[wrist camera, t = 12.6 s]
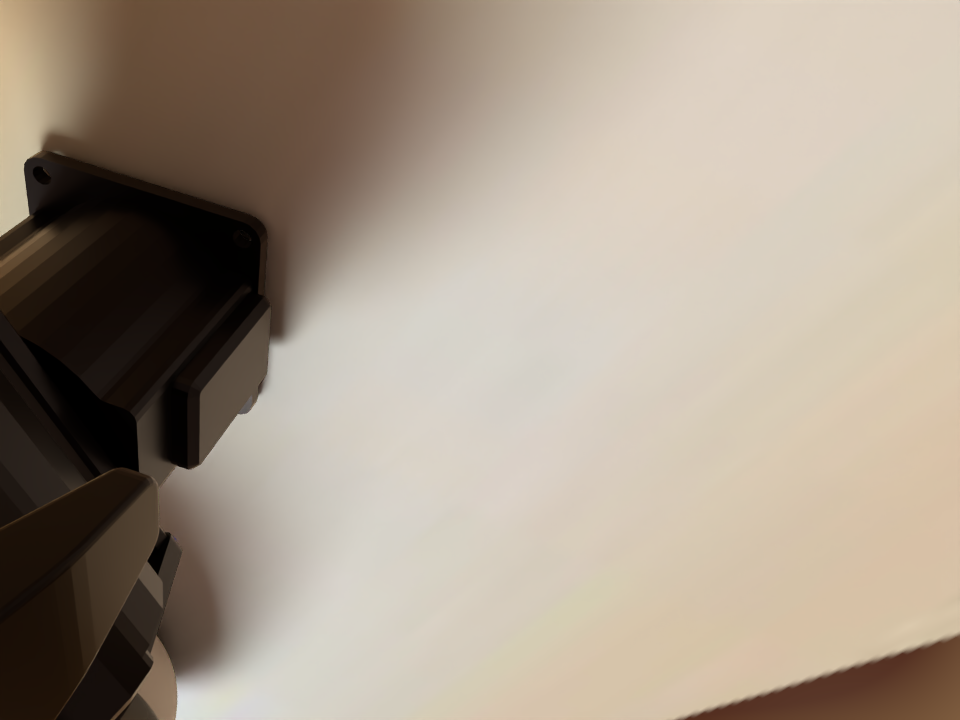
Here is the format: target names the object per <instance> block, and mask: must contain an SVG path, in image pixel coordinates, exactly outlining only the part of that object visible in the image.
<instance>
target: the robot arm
mask: <svg viewBox="0 0 960 720" xmlns="http://www.w3.org/2000/svg"><path fill="white" fill-rule="evenodd" d="M43 168H44V169H46V170H47V171H48V173H49V174H50V176H48V175H47V174H46V173H45V172H44V170H43ZM24 174H25V182H26V190H27V198H28V206H29V214H30V216H29V217H28V218H26V219H25V220H23V221H22V222H21V223H19V224H18V225H16V226H15V227H14V228H12V229H11V230H9V231H8V232H6V233H5V234H4V235H2V236H1V237H0V720H120V719H121V718H122V716H123V715H124V714H125V712H126V710H127V709H128V707H129V706H130V704H131V703H132V701H133V699H134V698H135V696H136V694H137V692H138V691H139V690H140V688H141V687H142V685H143V684H144V682H145V681H146V679H147V678H148V676H149V674H150V671H151V668H152V666H153V663H154V660H153V656H152V655H151V651H152V648H153V645H154V641H155V638H156V635H157V632H158V628H159V625H160V622H161V619H162V615H163V612H164V609H165V606H166V602H167V599H168V596H169V593H170V589H171V586H172V583H173V580H174V577H175V573H176V570H177V567H178V564H179V560H180V557H181V554H182V549H181V547H180V546H179V544H178V543H177V542H176V540H175V539H174V538H173V536H172V535H171V534H170V533H169V532H164V531H163V530H162V528H161V527H160V525H159V491H158V490H159V488H160V487H161V486H162V484H163V483H164V482H165V480H166V479H167V478H168V476H169V475H170V474H171V473H172V471H173V470H174V469H175V467H176V466H179V467H182V468H185V469H188V470H191V469H193V468H195V467H197V466H199V465H200V464H201V463H202V462H203V461H204V459H205V458H206V456H207V455H208V454H209V452H210V451H211V450H212V448H213V447H214V446H215V444H216V443H217V442H218V440H219V439H220V437H221V436H222V435H223V433H224V432H225V431H226V429H227V428H228V427H229V425H230V424H231V422H232V421H233V420H234V418H235V417H236V416H237V414H245V413H247V412H249V411H250V410H251V408H252V407H253V406H254V404H255V403H256V401H257V398H258V386H259V384H260V383H261V382H262V380H263V379H264V377H265V376H266V374H267V364H268V349H269V335H270V320H271V305H270V303H269V300H268V298H267V297H266V296H264V289H265V273H266V257H267V241H268V236H267V231H266V229H265V227H264V225H263V224H262V223H261V222H260V221H259V220H258V219H257V218H255V217H253V216H251V215H249V214H245V213H242V212H239V211H236V210H233V209H230V208H226V207H223V206H220V205H217V204H214V203H211V202H207V201H204V200H201V199H198V198H195V197H192V196H188V195H185V194H182V193H179V192H176V191H173V190H169V189H166V188H163V187H160V186H157V185H153V184H150V183H147V182H144V181H141V180H138V179H134V178H131V177H128V176H125V175H122V174H119V173H115V172H112V171H109V170H106V169H103V168H100V167H96V166H93V165H90V164H87V163H84V162H81V161H77V160H74V159H71V158H68V157H65V156H61V155H58V154H55V153H52V152H47V151H41V152H39V153H37V154H35V155H34V156H32V157H30V158H29V159H27V161H26V162H25V164H24ZM240 230H243V231H244V232H246V233H248V235H249V236H250V237H251V240H252V241H249V240H247V239H245V238H244V237H243V236H242V234H241V232H240Z"/></svg>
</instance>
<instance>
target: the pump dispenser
mask: <svg viewBox="0 0 960 720" xmlns="http://www.w3.org/2000/svg"><path fill="white" fill-rule="evenodd" d="M151 655H152V656H153V660H154V663H153V666H152V668H151V671H150V674H149V676H148V678H147V679H146V681H145V682H144V684H143V685H142V687H141V688H140V690H139V691H138V692H137V694H136V696H135V698H134V699H133V701H132V703H131V704H130V706H129V707H128V709H127V710H126V712H125V714H124V715H123V716H122V718H121V719H120V720H175V718H176V711H177V684H176V678H175V673H174V669H173V666H172V663H171V660H170V658H169V656H168V653H167V651H166V649H165V648H164V646H163V644H162V643H161V641H160V640H159V638H158V637H157V635H156V638H155V641H154V645H153V648H152V651H151Z"/></svg>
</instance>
